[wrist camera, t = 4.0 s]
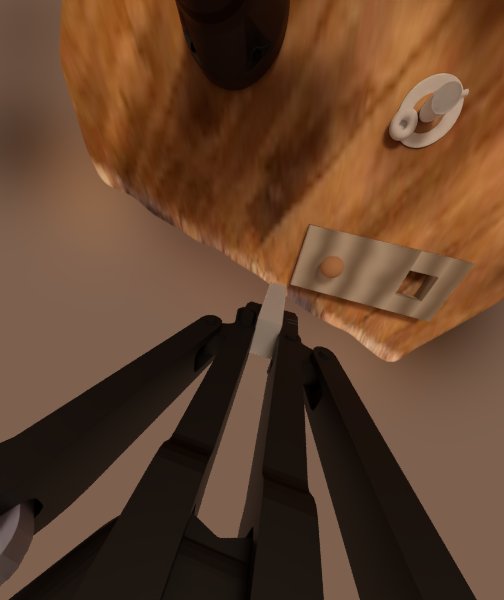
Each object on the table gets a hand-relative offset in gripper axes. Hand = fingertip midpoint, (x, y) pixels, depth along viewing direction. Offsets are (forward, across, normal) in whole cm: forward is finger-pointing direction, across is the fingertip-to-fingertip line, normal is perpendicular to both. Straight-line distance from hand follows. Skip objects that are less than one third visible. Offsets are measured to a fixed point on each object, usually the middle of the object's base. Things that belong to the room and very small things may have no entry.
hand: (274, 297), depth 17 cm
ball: (+20, +9, 0) cm, 22 cm away
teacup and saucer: (+25, +11, +25) cm, 37 cm away
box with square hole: (+24, +17, 0) cm, 30 cm away
